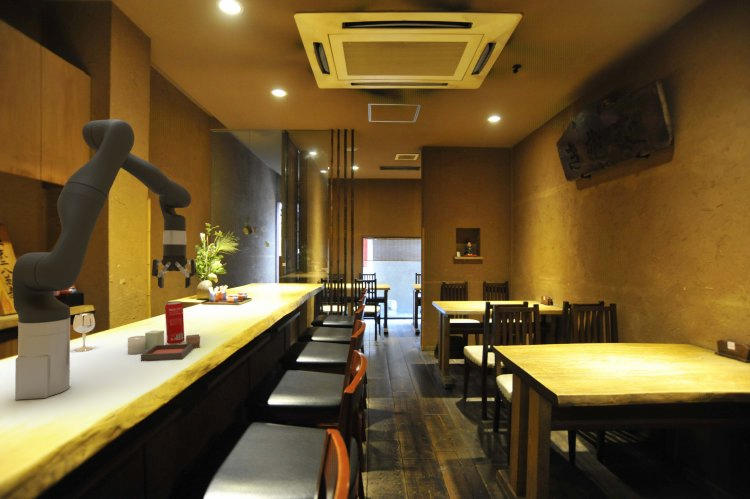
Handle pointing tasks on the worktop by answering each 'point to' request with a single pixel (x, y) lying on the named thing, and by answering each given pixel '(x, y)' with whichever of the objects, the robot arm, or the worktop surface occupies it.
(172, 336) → the beverage can
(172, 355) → the lacquer tray
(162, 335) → the sage painted block
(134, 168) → the robot arm
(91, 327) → the wineglass
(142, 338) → the beige block
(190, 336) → the walnut block
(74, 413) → the worktop surface
